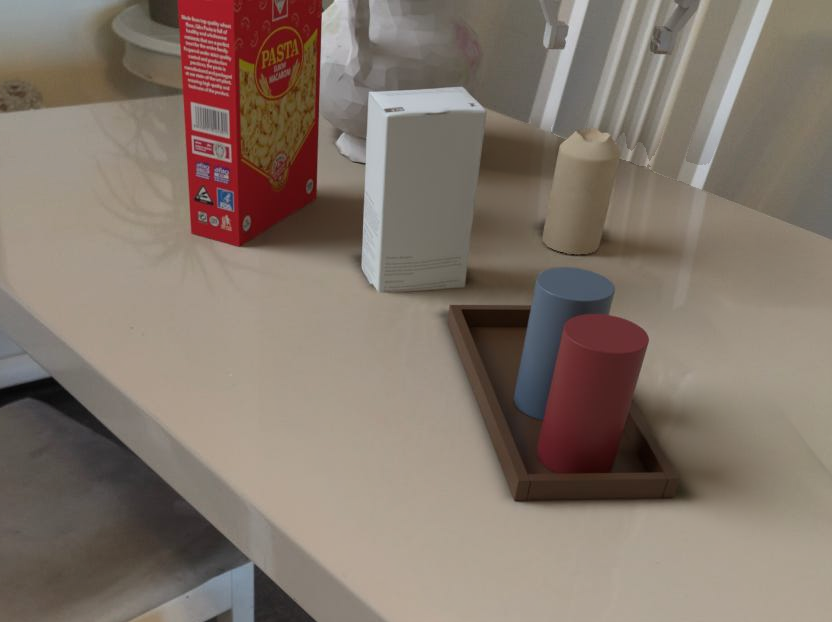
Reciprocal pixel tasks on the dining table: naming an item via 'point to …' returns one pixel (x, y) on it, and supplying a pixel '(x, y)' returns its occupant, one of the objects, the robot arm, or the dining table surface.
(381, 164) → the cosmetic box
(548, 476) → the tray
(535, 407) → the slate candle
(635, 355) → the burgundy candle
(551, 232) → the candle
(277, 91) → the food packaging
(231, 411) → the dining table surface
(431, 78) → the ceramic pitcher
